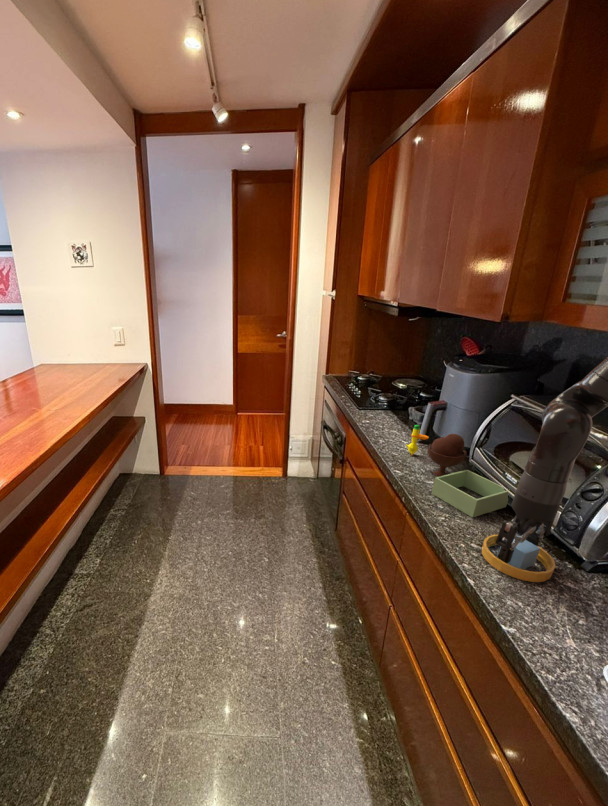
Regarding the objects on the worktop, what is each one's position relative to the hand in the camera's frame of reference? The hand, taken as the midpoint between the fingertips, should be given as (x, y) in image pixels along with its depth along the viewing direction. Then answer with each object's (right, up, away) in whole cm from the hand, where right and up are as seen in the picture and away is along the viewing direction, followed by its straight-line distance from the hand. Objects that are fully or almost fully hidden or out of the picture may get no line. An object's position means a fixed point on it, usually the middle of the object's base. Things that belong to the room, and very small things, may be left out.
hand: (516, 555), depth 87 cm
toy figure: (+2, +19, +51) cm, 55 cm away
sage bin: (+4, +8, +24) cm, 26 cm away
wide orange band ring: (0, -2, +1) cm, 2 cm away
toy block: (0, -2, +1) cm, 2 cm away
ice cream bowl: (+5, +13, +38) cm, 41 cm away
